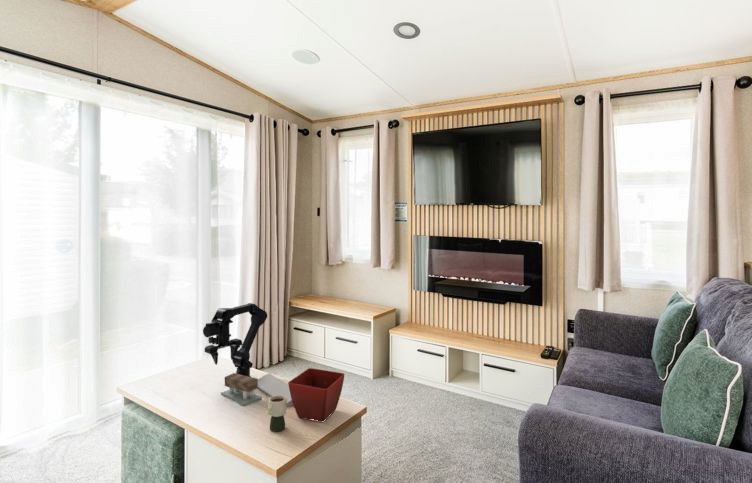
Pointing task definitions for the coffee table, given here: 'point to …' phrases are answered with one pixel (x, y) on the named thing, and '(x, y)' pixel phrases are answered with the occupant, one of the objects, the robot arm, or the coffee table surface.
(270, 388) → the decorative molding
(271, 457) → the coffee table surface
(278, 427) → the character mug
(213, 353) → the robot arm
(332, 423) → the coffee table surface
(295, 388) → the plant pot
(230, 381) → the walnut shelf board
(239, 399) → the peg base
